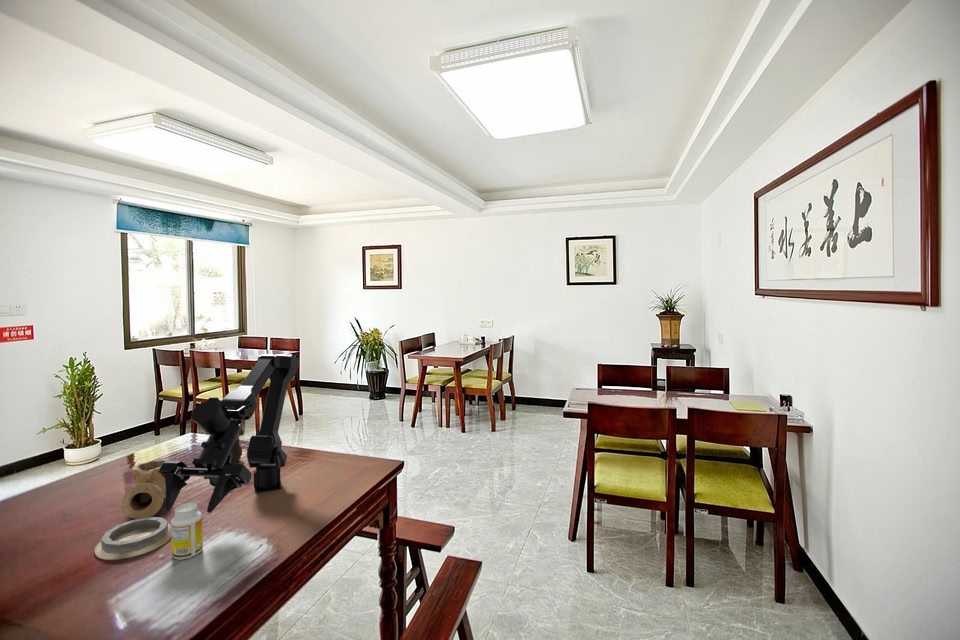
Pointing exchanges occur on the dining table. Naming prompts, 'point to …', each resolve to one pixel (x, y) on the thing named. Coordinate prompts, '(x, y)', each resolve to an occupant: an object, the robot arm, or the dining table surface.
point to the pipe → (145, 491)
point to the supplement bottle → (186, 532)
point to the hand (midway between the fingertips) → (187, 511)
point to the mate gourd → (236, 451)
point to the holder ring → (133, 538)
